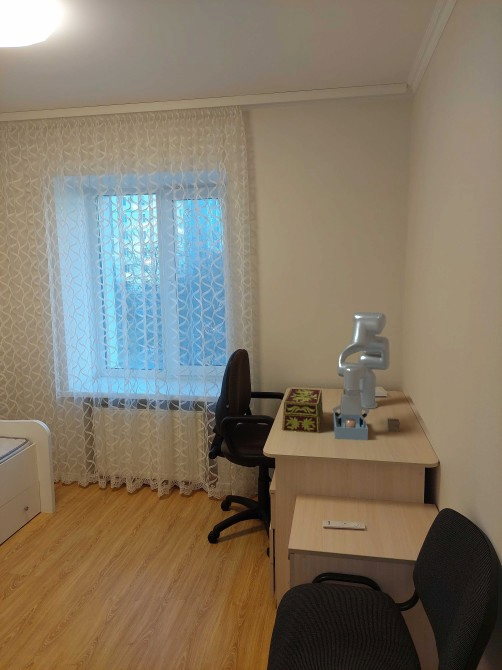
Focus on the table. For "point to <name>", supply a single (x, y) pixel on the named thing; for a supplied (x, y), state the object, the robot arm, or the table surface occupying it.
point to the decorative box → (303, 411)
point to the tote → (350, 433)
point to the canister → (350, 423)
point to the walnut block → (393, 424)
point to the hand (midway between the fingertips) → (350, 425)
